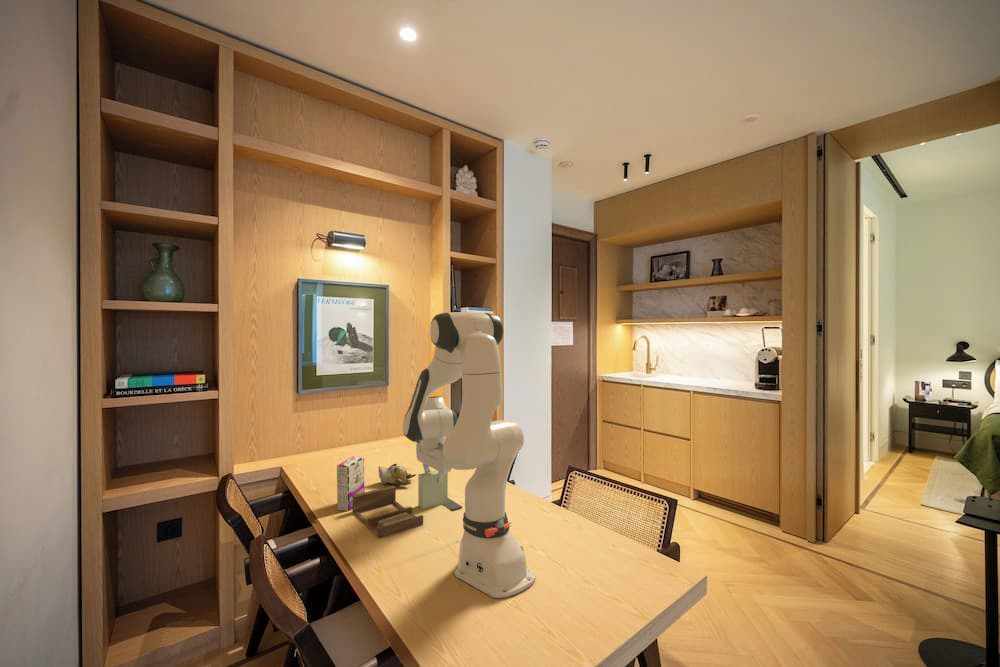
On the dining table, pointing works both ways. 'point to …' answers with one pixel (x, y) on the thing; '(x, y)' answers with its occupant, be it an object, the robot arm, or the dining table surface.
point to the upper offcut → (394, 519)
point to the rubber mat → (452, 505)
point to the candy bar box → (349, 482)
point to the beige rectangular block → (432, 490)
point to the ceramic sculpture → (394, 475)
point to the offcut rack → (378, 500)
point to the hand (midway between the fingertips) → (433, 478)
